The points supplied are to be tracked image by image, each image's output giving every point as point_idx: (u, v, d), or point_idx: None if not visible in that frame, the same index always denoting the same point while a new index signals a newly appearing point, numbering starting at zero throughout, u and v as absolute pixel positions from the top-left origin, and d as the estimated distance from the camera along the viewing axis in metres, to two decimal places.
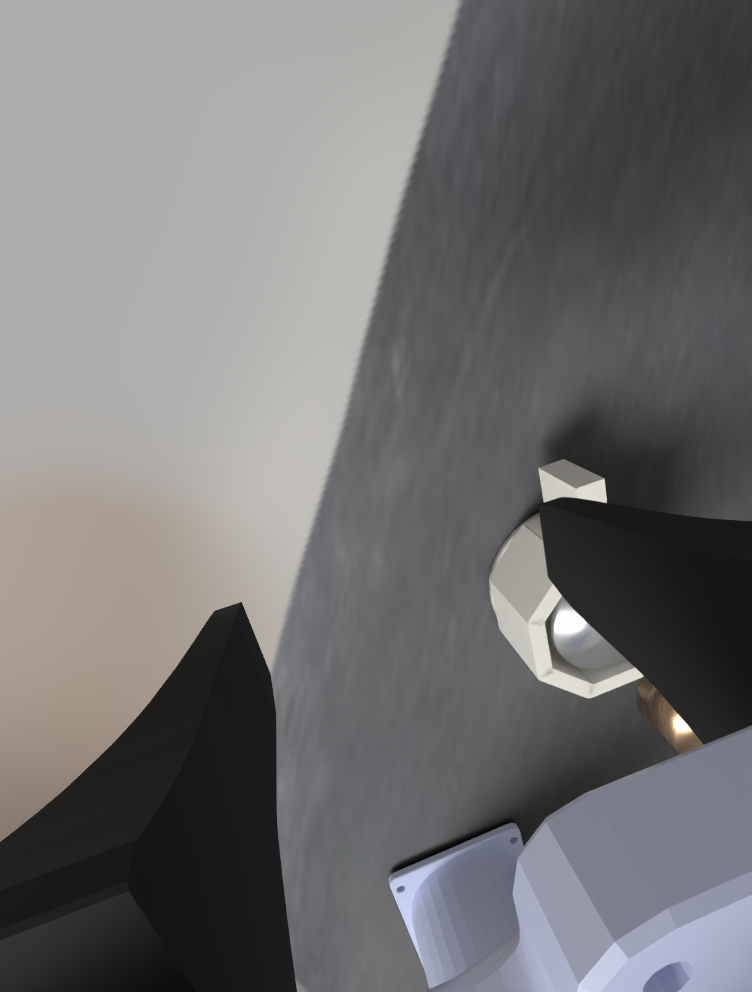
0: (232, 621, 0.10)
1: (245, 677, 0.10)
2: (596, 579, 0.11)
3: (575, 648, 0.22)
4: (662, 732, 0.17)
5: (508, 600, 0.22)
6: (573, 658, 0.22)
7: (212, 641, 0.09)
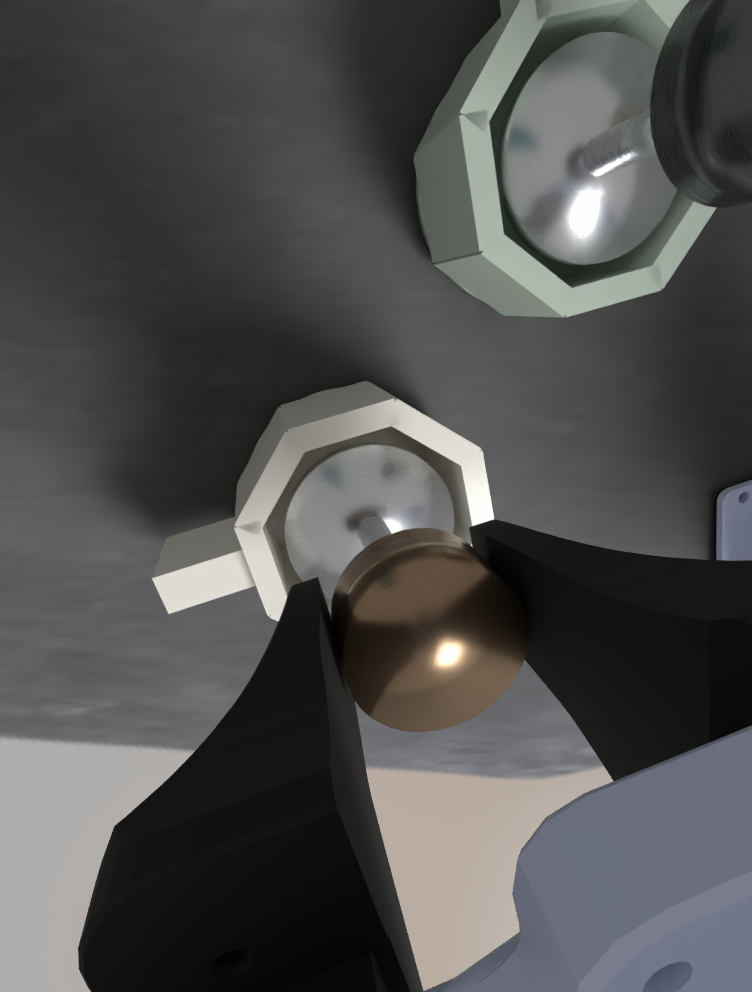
0: (318, 592, 0.10)
1: (333, 646, 0.10)
2: None
3: None
4: None
5: None
6: None
7: (304, 610, 0.10)
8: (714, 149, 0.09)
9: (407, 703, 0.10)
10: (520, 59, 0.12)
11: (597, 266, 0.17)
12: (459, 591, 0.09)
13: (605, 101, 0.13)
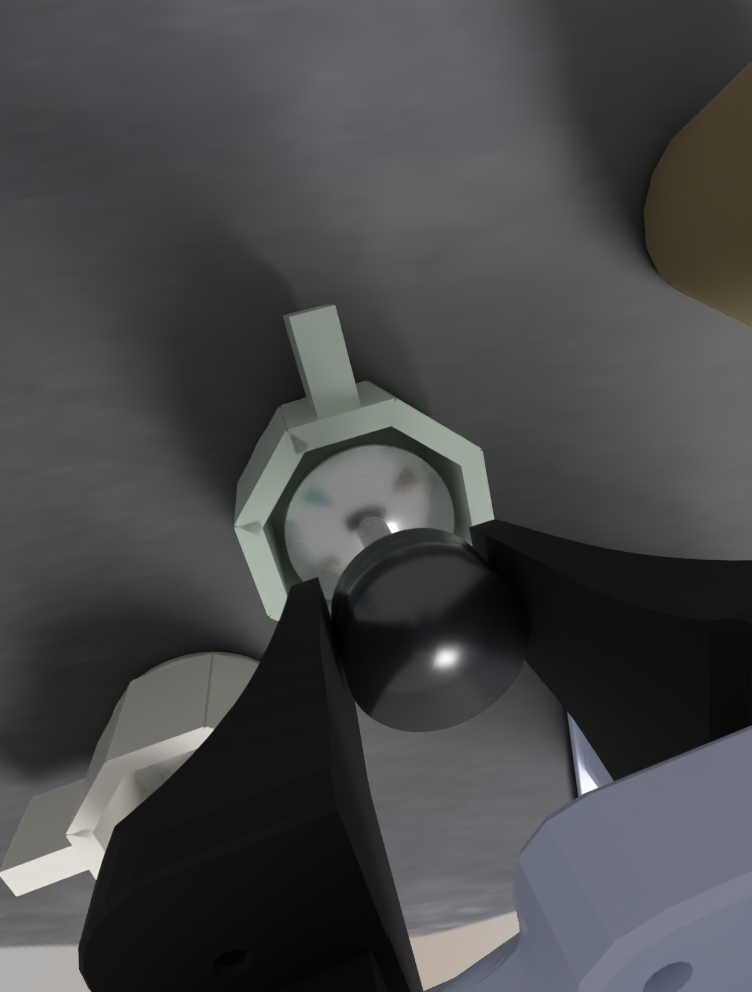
0: (318, 592, 0.10)
1: (333, 646, 0.10)
2: None
3: None
4: None
5: None
6: None
7: (304, 610, 0.10)
8: None
9: None
10: (285, 482, 0.14)
11: None
12: None
13: (371, 494, 0.15)
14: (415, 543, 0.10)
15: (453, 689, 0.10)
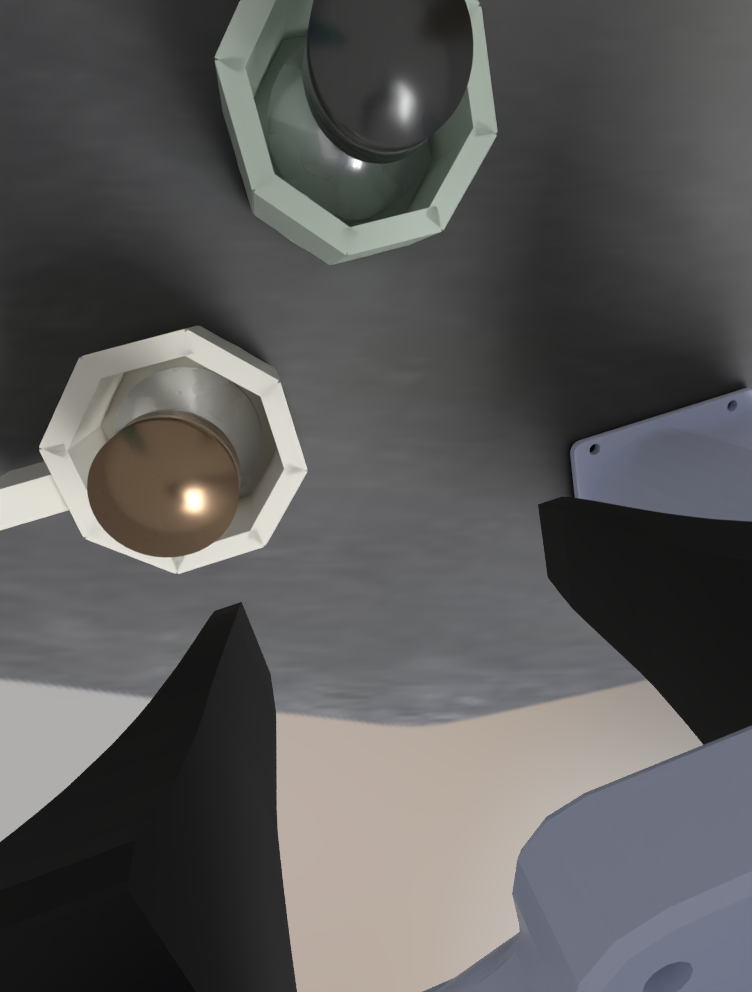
0: (232, 621, 0.10)
1: (245, 677, 0.10)
2: (597, 579, 0.11)
3: None
4: None
5: None
6: (244, 475, 0.20)
7: (212, 641, 0.09)
8: (329, 116, 0.12)
9: (145, 531, 0.14)
10: (269, 8, 0.13)
11: None
12: (171, 442, 0.13)
13: None
14: None
15: (407, 95, 0.12)
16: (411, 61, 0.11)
